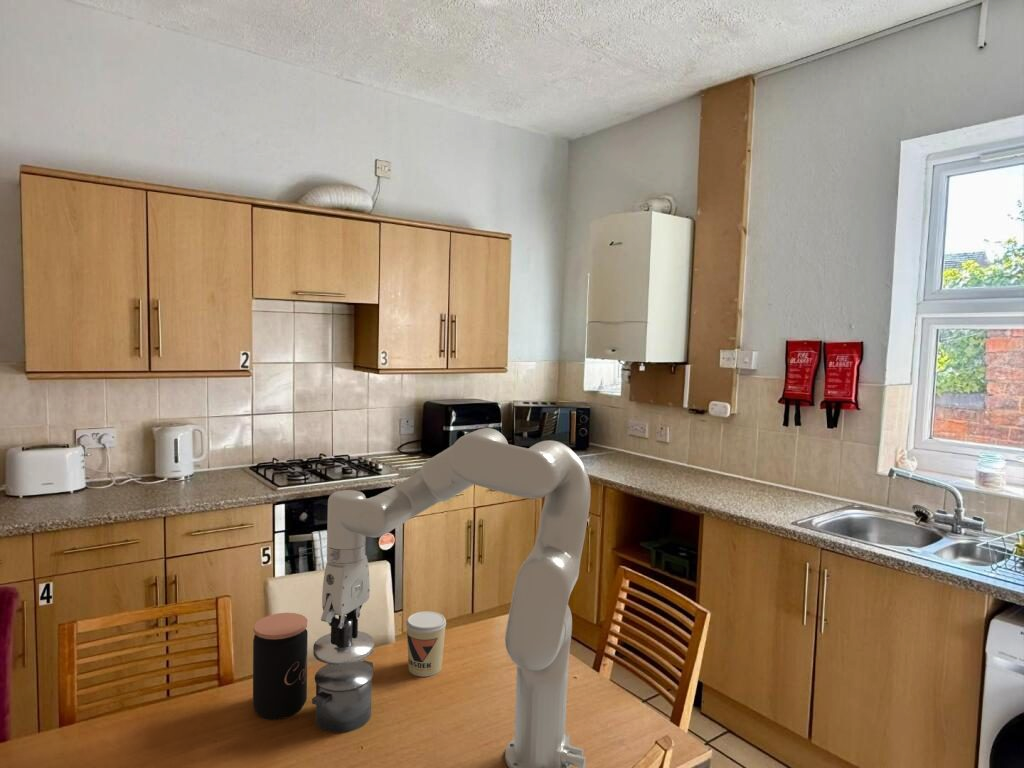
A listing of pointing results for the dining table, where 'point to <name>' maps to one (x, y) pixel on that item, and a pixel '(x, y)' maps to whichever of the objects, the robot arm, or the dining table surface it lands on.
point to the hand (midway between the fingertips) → (344, 639)
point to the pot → (343, 696)
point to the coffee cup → (425, 642)
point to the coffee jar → (280, 665)
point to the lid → (344, 647)
